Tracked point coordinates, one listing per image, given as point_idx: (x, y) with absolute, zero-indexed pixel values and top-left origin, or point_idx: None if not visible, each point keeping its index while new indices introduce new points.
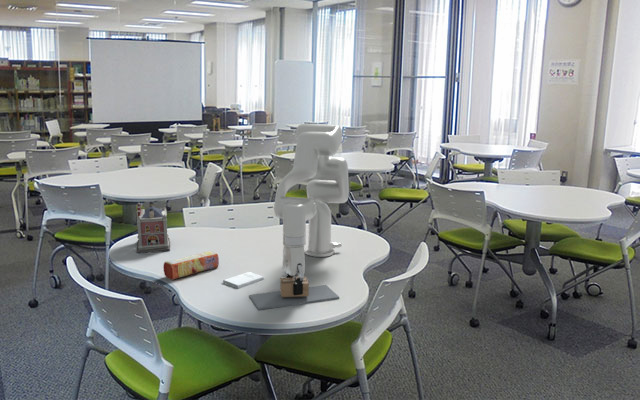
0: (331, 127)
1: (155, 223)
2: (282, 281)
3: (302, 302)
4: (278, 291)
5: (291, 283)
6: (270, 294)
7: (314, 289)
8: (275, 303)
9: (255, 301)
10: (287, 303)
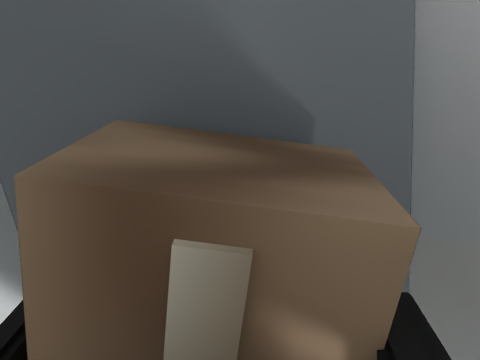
0: None
1: None
2: (185, 227)
3: None
4: (396, 126)
5: (51, 358)
6: (329, 2)
7: None
8: (21, 17)
9: None
10: (15, 158)
